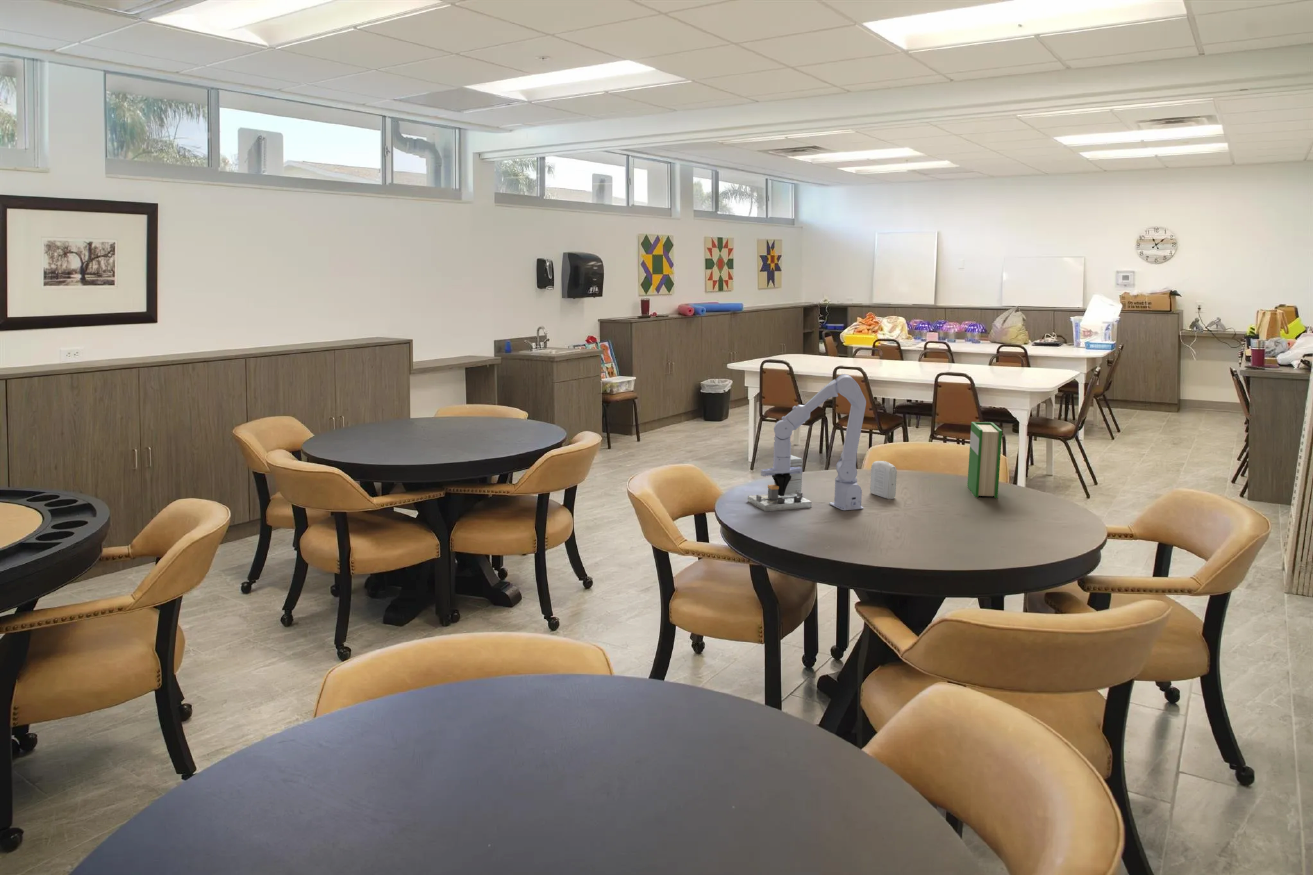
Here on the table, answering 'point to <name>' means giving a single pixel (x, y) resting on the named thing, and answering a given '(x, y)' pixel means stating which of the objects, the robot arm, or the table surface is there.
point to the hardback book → (984, 459)
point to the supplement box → (795, 476)
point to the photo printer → (883, 479)
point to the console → (780, 502)
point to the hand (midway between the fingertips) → (781, 495)
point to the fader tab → (773, 492)
